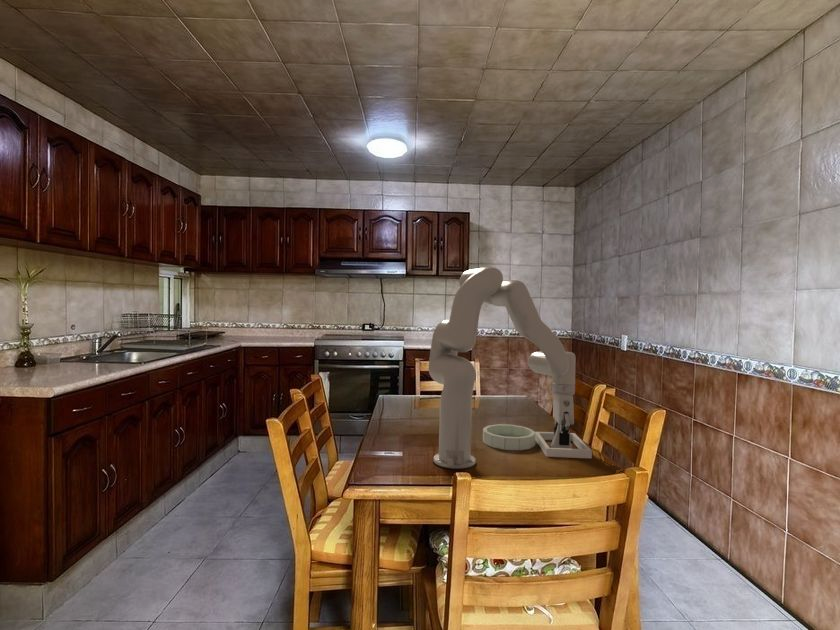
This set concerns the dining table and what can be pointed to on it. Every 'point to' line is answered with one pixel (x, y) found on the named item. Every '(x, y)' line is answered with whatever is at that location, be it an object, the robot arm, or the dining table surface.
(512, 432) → the bowl
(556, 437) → the flask
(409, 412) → the dining table surface
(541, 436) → the light grey rectangular frame
